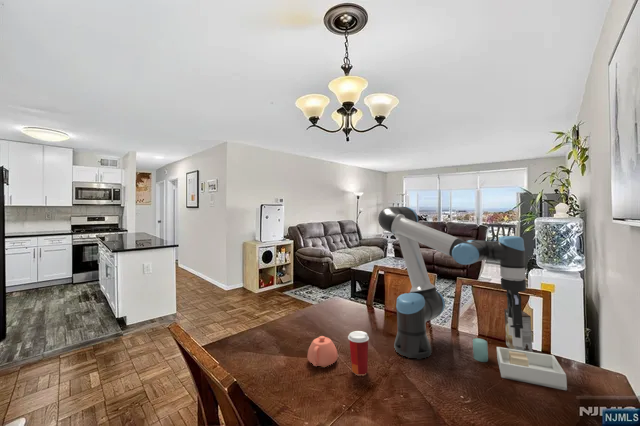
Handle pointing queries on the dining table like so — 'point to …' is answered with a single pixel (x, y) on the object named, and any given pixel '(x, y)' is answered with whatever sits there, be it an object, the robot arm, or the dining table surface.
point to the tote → (533, 369)
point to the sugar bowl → (322, 352)
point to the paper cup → (359, 351)
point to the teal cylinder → (480, 350)
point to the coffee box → (525, 333)
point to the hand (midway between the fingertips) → (515, 340)
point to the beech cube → (518, 359)
